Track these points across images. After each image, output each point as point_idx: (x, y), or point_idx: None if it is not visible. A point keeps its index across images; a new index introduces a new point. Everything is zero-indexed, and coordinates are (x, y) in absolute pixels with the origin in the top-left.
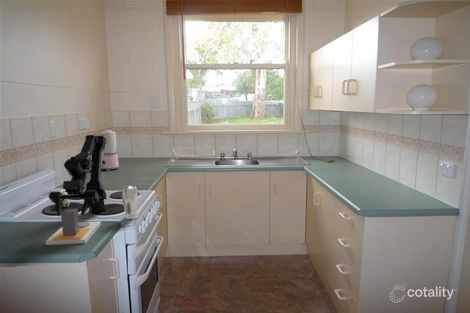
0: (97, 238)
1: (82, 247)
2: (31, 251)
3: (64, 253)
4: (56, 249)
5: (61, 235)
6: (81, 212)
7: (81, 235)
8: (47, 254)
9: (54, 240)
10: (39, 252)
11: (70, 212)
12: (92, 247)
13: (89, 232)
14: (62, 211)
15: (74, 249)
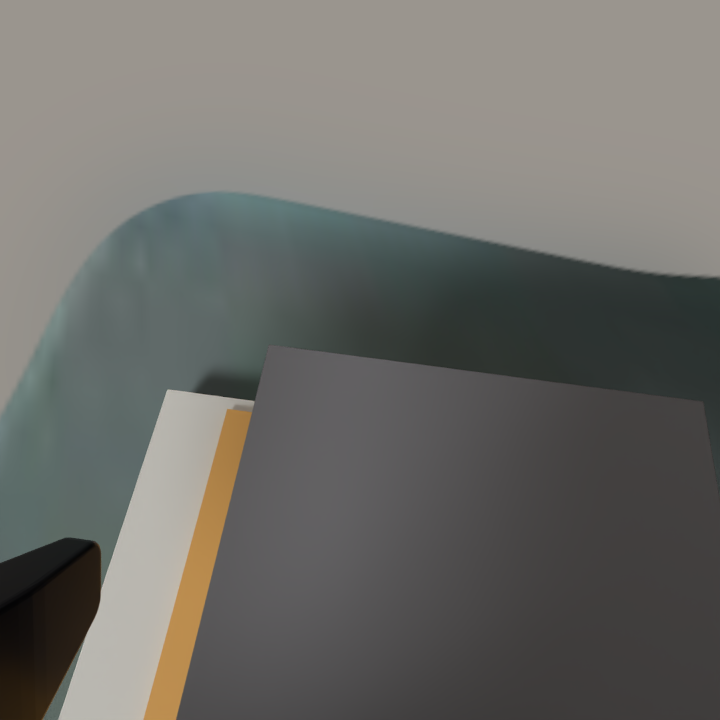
0: (29, 528)
1: (205, 313)
2: (712, 343)
3: (357, 233)
4: (467, 329)
5: None
6: (63, 561)
7: (224, 519)
8: (510, 248)
9: None
10: (612, 303)
11: (375, 369)
12: (104, 290)
13: (111, 656)
14: (682, 467)
15: (281, 288)
